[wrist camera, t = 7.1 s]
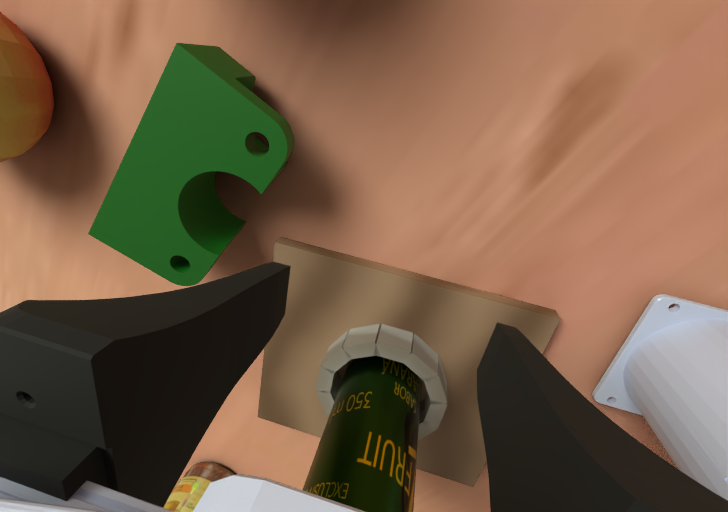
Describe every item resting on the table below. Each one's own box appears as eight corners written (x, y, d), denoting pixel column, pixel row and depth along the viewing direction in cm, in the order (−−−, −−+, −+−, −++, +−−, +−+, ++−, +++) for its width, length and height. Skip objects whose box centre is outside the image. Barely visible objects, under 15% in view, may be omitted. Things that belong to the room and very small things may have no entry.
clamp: (256, 211, 27) (185, 304, 22) (185, 162, 26) (87, 248, 20) (333, 97, 19) (252, 199, 13) (236, 12, 17) (91, 86, 11)
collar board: (555, 310, 22) (571, 339, 19) (472, 474, 28) (475, 513, 26) (281, 237, 23) (260, 253, 21) (263, 407, 30) (245, 437, 27)
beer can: (386, 417, 26) (349, 633, 15) (332, 372, 26) (253, 565, 15) (438, 380, 24) (437, 602, 13) (380, 331, 24) (329, 521, 13)
